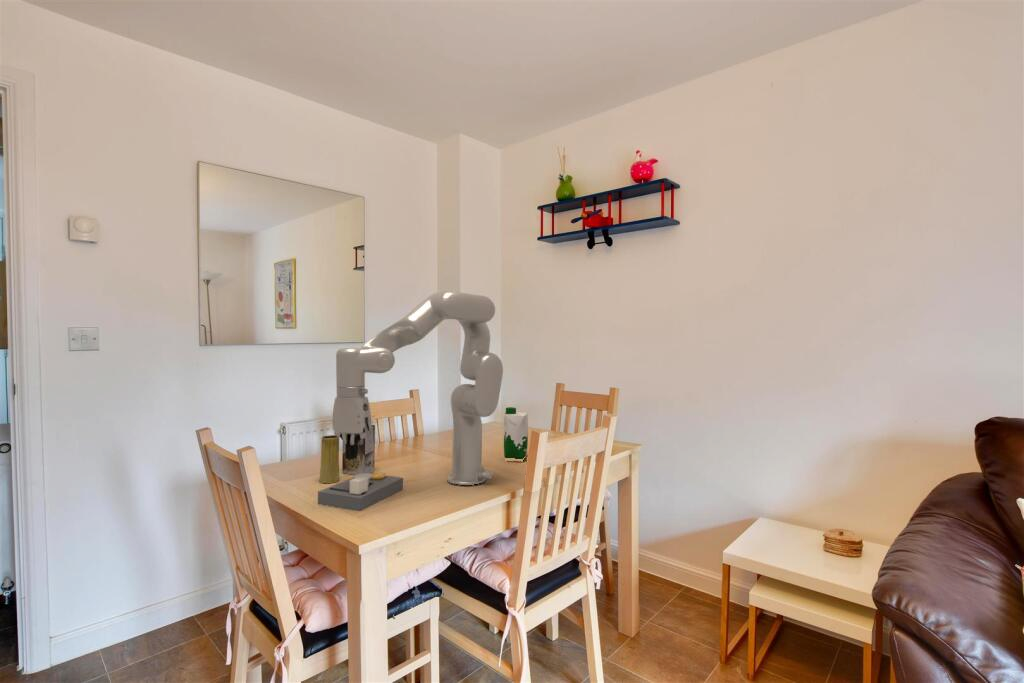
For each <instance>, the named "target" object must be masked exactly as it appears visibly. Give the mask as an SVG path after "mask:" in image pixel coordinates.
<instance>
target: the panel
mask: <svg viewBox="0 0 1024 683" xmlns="http://www.w3.org/2000/svg"><path fill="white" fill-rule="evenodd" d="M369 474H372V473H369ZM352 479H354V476H353V477H350V478H348V479H346V480H343V481H341V482H339V483H338V482H337V483H335V484H334V485H331V486H329V487H325V488H324V489H320V490H318V491H317V505H320V504H322V505H321V506H326V505H328V507H332V506H334V507H333V508H338V507H340V509H344V508H345V510H350V509H351V510H353V511H356V510H357V511H358V512H362V511H364V510H365V509H367V508H369V507H371V506H373V505H374V503H375V504H377V503H378V501H379V502H381V501H383V500H384V498H385V499H386V497H387V498H389V497H390V495H391V496H393V495H395V494H397V493H399V492H401V491H402V490H404V477H399V476H393V475H386V474H385V478H383V479H382V480H380V481H376V480H371V479H369V486H368V491H365V492H363V493H361V494H359V495H358V494H352V493H350V480H352ZM394 493H395V494H394ZM392 494H393V495H392ZM388 496H389V497H388ZM382 499H383V500H382ZM380 500H381V501H380ZM376 502H377V503H376Z"/></svg>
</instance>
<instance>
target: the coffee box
mask: <svg viewBox="0 0 1024 683" xmlns="http://www.w3.org/2000/svg"><path fill="white" fill-rule="evenodd" d="M375 427H376V425H375V424H371V430H370V431H368V434H369V437H367V438H364V439H361V440H360V442H359V443H358V456H357V457H356V458H353V459H346V454H345V444H343V441H342V442H341V443H342V444H341V445H342V448H341V449H342V451H341V452H342V461H341V463H342V466H341V467H342V468H341V469H342V470H341V472H342V473H344V474H343V475H354V476H355V475H356V474H360V473H371V474H372V473H375V456H376V455H375V452H376V451H375V449H376V448H375V447H376V446H375V444H376V431H375V430H376V428H375ZM361 434H362V433H361ZM342 473H341V474H342Z"/></svg>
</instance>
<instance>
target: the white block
mask: <svg viewBox="0 0 1024 683" xmlns="http://www.w3.org/2000/svg"><path fill="white" fill-rule="evenodd" d="M365 491H368V478H365V477H357V478H354V479H352V480H350V493H352V494H358V495H359V494H361V493H363V492H365Z"/></svg>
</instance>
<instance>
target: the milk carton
mask: <svg viewBox="0 0 1024 683" xmlns="http://www.w3.org/2000/svg"><path fill="white" fill-rule="evenodd" d="M503 417H504V419H503V420H504V421H503V428H504V429H503V454H504V455H503V457H505V458H515V459H523V458H524V457H525V456H526V457H527V452H528V445H529V444H528V443H529V442H528V438H529V433H528V432H529V418H528V417H529V416H528V412H521V411H517V407H512V406H510V407H506V408H505V413H504V416H503Z"/></svg>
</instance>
